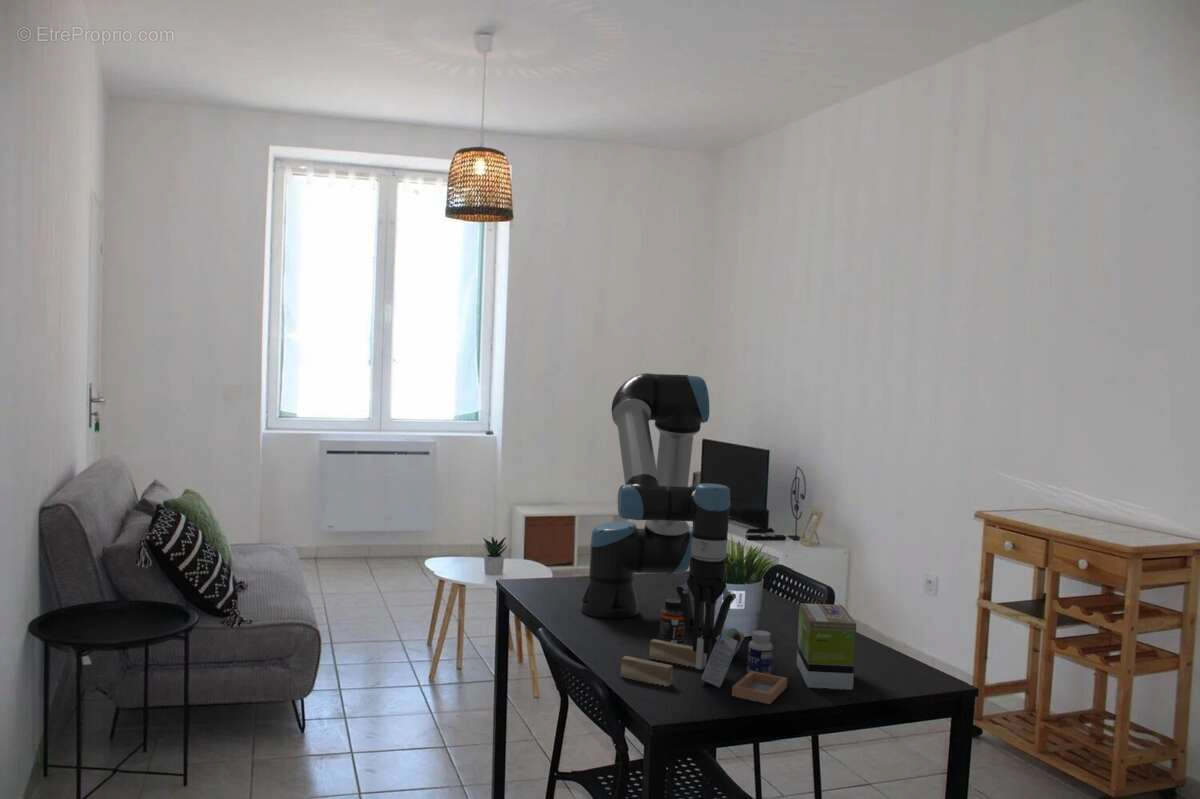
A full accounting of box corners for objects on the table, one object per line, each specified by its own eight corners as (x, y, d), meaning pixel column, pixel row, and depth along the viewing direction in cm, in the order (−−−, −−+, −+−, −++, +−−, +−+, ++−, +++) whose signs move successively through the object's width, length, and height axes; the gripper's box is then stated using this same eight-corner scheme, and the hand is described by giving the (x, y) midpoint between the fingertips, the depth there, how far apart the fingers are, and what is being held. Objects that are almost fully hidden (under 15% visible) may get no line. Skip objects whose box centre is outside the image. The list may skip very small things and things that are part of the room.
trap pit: (750, 679, 216) (750, 670, 216) (786, 687, 212) (787, 678, 212) (731, 696, 205) (732, 686, 205) (769, 704, 202) (770, 694, 202)
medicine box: (719, 688, 209) (735, 651, 208) (700, 679, 210) (715, 642, 209) (723, 677, 217) (739, 641, 216) (704, 668, 218) (719, 632, 217)
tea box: (794, 665, 228) (798, 601, 227) (839, 668, 227) (843, 603, 227) (806, 688, 213) (810, 619, 212) (854, 691, 212) (858, 622, 212)
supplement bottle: (680, 653, 232) (682, 605, 232) (655, 649, 234) (657, 601, 234) (686, 646, 238) (689, 599, 237) (662, 642, 240) (665, 596, 239)
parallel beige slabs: (652, 656, 229) (653, 639, 229) (697, 665, 224) (698, 647, 224) (620, 676, 214) (621, 658, 214) (668, 687, 209) (669, 668, 209)
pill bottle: (742, 670, 222) (744, 630, 222) (760, 667, 225) (762, 628, 224) (757, 677, 218) (759, 637, 217) (776, 674, 220) (778, 634, 220)
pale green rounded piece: (738, 652, 235) (740, 623, 235) (750, 657, 232) (751, 628, 232) (711, 656, 231) (713, 627, 231) (722, 661, 228) (724, 632, 227)
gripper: (673, 555, 213) (665, 665, 214) (731, 565, 207) (723, 678, 208) (686, 550, 219) (679, 657, 220) (743, 559, 213) (735, 668, 215)
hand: (700, 667), depth 214 cm, fingers closed
